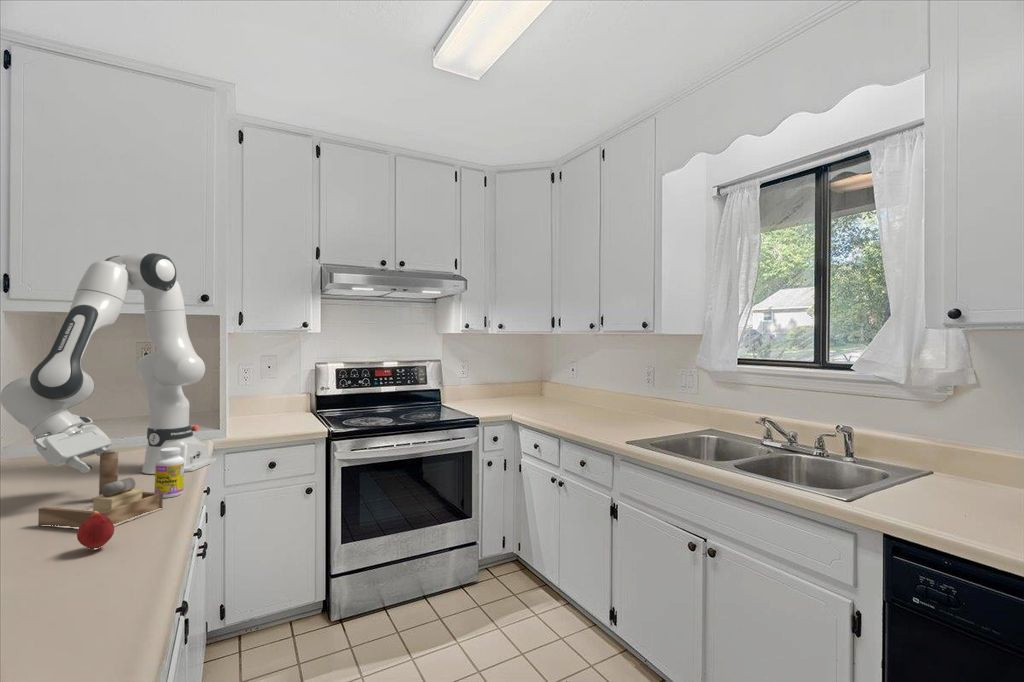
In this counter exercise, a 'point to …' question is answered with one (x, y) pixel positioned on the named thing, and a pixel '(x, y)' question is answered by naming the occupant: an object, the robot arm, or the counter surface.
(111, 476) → the brown wooden pepper mill
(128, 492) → the block with grey roller
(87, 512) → the bay
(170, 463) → the supplement bottle
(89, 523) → the onion
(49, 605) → the counter surface
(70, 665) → the counter surface
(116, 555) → the counter surface
